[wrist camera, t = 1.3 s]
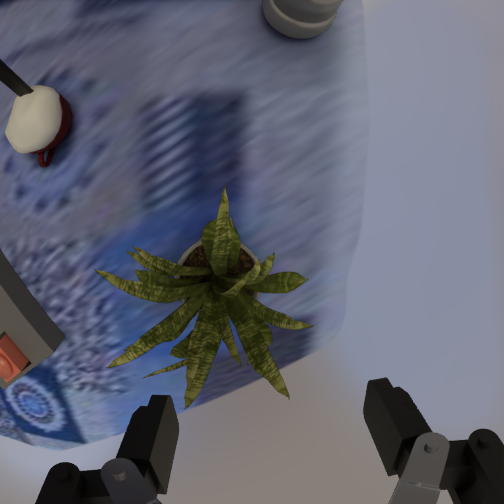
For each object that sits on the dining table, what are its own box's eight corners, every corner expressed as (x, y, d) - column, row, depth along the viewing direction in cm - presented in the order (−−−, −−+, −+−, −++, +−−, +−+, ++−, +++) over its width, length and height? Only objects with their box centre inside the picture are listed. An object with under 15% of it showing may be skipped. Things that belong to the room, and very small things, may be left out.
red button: (-5, 344, 30) (-18, 359, 26) (9, 330, 29) (-6, 346, 26) (16, 369, 31) (4, 385, 27) (31, 357, 30) (18, 374, 27)
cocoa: (68, 167, 28) (1, 188, 17) (21, 155, 26) (-52, 172, 15) (93, 75, 25) (33, 49, 14) (43, 68, 24) (-25, 49, 12)
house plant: (134, 175, 28) (49, 203, 13) (283, 167, 29) (348, 184, 14) (152, 314, 33) (111, 428, 17) (283, 307, 34) (327, 419, 18)
